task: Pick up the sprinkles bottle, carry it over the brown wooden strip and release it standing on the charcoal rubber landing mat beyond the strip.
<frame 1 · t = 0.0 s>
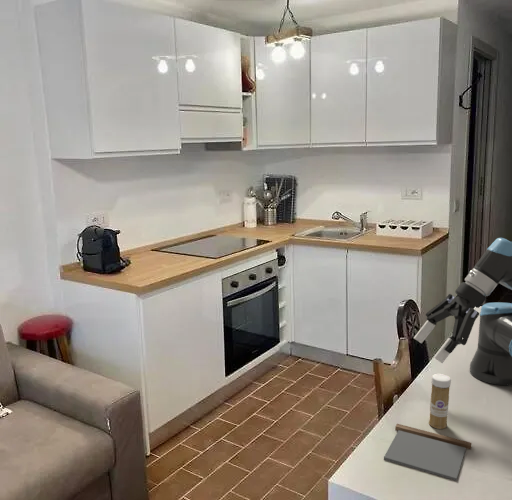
hand: (427, 350, 145), 15 cm above the table, tool tilted 35°, fingers open, 13 cm apart
sprinkles bottle: (437, 425, 136), on the table
brown wooden strip: (432, 437, 130), on the table
landing mat: (425, 454, 123), on the table
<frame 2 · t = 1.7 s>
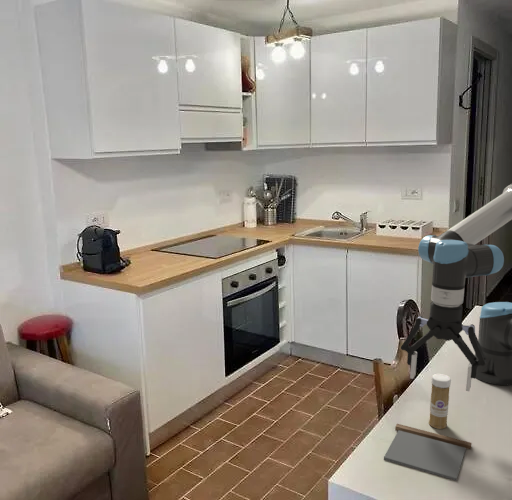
hand: (439, 382, 133), 12 cm above the table, tool pointing down, fingers open, 13 cm apart
nothing on the table moved.
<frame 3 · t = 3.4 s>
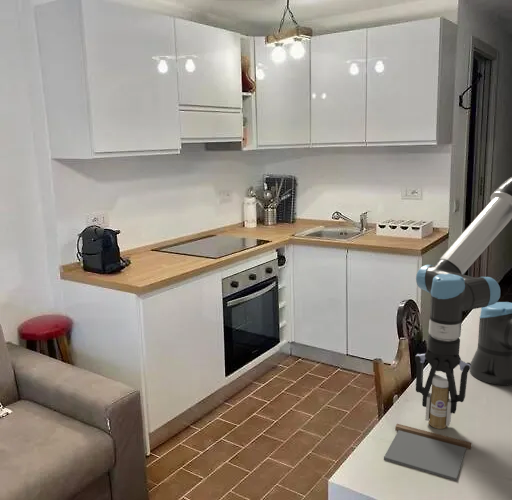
hand: (438, 420, 136), 1 cm above the table, tool pointing down, fingers closed on sprinkles bottle, 4 cm apart
sprinkles bottle: (437, 425, 136), on the table, touching gripper
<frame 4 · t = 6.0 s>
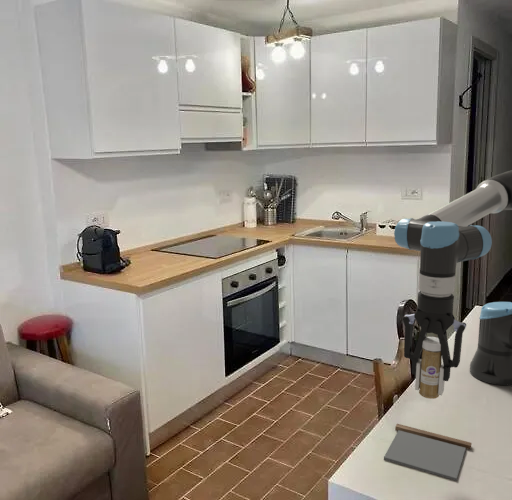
hand: (429, 389, 120), 17 cm above the table, tool pointing down, fingers closed on sprinkles bottle, 4 cm apart
sprinkles bottle: (429, 395, 120), point 15 cm above the table, touching gripper
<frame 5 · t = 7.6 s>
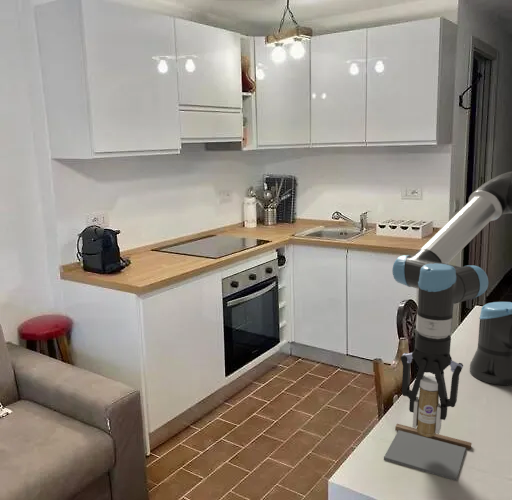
hand: (426, 427, 122), 7 cm above the table, tool pointing down, fingers closed on sprinkles bottle, 4 cm apart
sprinkles bottle: (426, 432, 122), point 6 cm above the table, touching gripper
when the fingers open (3 cm above the table, at t = 8.6 s): sprinkles bottle drops 1 cm, resting on landing mat.
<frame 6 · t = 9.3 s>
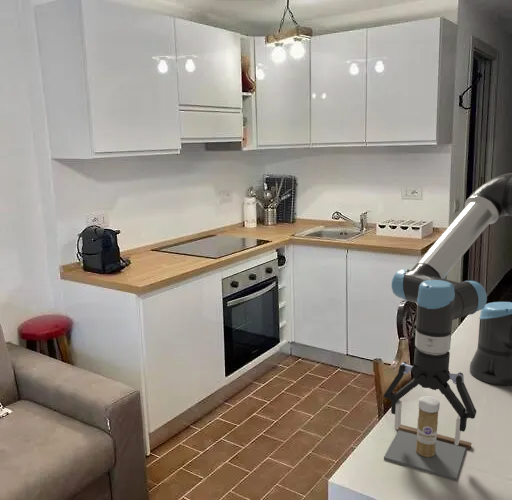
hand: (426, 434, 122), 5 cm above the table, tool pointing down, fingers open, 13 cm apart
sprinkles bottle: (425, 452, 123), resting on landing mat
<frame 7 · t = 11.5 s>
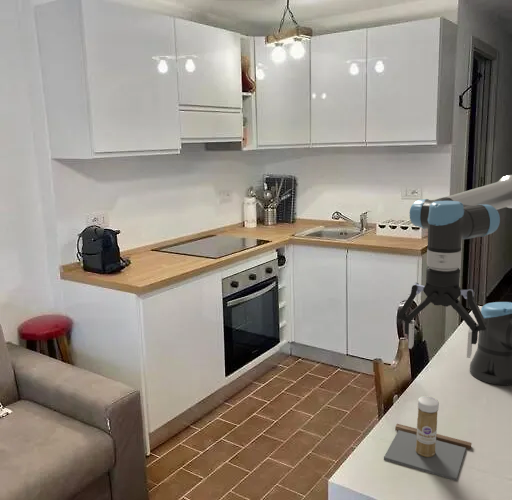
hand: (439, 351, 128), 22 cm above the table, tool pointing down, fingers open, 13 cm apart
nothing on the table moved.
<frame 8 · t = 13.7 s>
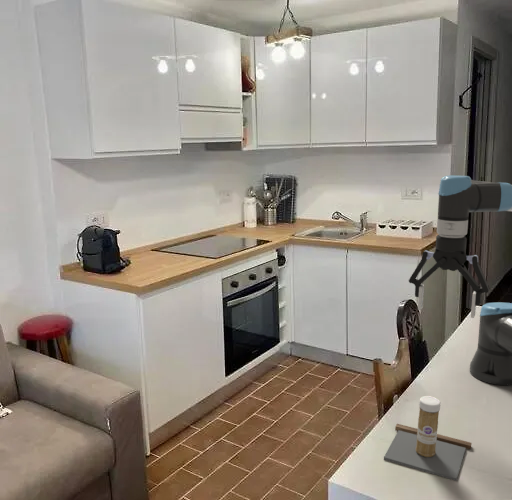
hand: (445, 312, 142), 27 cm above the table, tool pointing down, fingers open, 13 cm apart
nothing on the table moved.
at the end: sprinkles bottle 0.1 cm from the landing mat (horizontally); sprinkles bottle tilted 1°; sprinkles bottle resting on landing mat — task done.
